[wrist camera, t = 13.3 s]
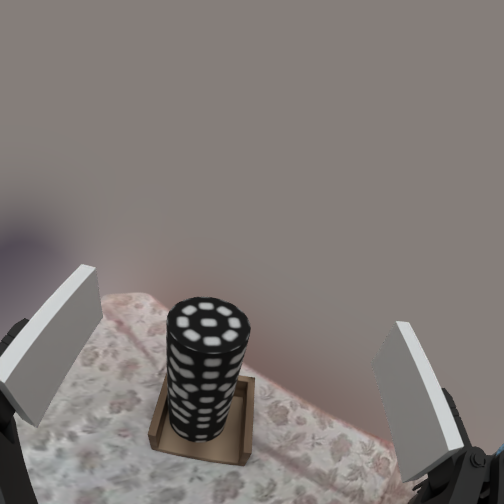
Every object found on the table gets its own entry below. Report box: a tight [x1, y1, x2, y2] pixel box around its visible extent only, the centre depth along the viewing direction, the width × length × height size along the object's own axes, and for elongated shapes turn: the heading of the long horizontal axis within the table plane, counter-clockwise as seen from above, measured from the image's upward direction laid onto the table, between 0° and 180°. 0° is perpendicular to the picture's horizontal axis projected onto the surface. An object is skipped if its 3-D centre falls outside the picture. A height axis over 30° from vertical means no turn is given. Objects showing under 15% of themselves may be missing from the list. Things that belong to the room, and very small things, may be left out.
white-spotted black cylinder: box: [166, 297, 251, 442], centre depth 32 cm, size 8×8×20 cm
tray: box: [148, 373, 255, 466], centre depth 36 cm, size 13×13×6 cm
